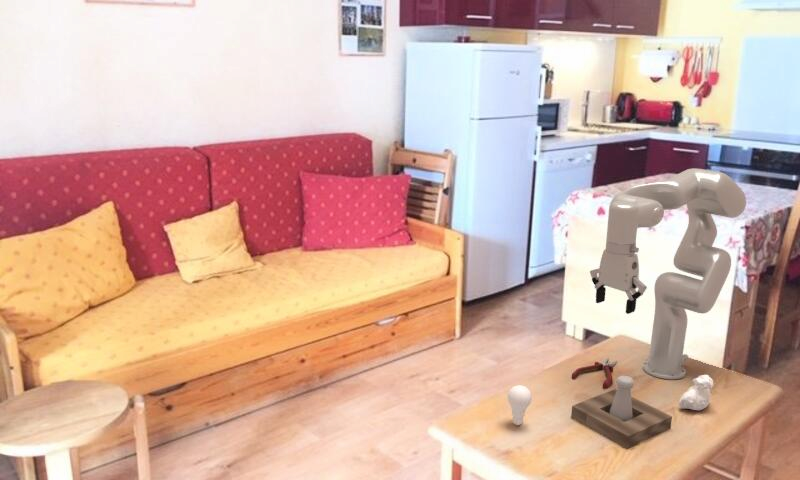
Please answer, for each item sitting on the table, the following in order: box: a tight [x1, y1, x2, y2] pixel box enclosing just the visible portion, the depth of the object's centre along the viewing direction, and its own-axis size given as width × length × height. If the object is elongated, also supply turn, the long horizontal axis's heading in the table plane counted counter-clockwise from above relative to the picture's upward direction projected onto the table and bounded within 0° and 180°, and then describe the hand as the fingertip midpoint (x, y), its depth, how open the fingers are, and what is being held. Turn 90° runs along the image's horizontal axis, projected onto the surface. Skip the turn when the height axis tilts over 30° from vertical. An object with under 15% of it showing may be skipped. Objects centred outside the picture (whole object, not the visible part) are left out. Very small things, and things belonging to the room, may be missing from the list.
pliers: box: [571, 357, 618, 390], centre depth 210 cm, size 11×20×3 cm, turn 143°
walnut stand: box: [570, 388, 673, 450], centre depth 180 cm, size 18×18×4 cm
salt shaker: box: [609, 375, 635, 422], centre depth 179 cm, size 6×6×13 cm
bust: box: [678, 374, 714, 412], centre depth 188 cm, size 12×8×11 cm
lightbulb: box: [507, 384, 533, 426], centre depth 177 cm, size 6×6×11 cm
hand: (614, 307), depth 187 cm, fingers open, 9 cm apart
